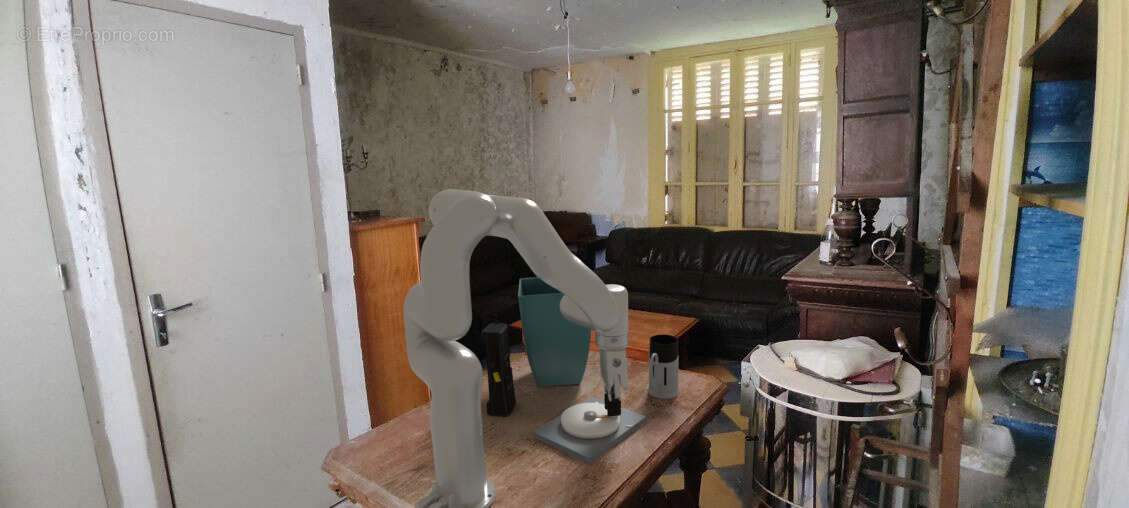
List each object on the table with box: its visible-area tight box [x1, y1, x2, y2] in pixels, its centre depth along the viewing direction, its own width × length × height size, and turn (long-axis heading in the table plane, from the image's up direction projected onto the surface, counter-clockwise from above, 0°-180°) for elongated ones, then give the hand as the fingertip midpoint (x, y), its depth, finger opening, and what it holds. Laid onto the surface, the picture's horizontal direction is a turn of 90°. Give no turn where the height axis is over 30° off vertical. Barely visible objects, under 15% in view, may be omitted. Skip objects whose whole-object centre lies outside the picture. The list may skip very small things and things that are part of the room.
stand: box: [532, 396, 647, 465], centre depth 125 cm, size 22×17×2 cm
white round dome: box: [560, 391, 620, 439], centre depth 124 cm, size 14×14×8 cm
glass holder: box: [647, 333, 681, 400], centre depth 139 cm, size 9×14×15 cm, turn 151°
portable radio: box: [480, 314, 517, 417], centre depth 133 cm, size 8×6×25 cm
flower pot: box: [517, 276, 592, 387], centre depth 152 cm, size 20×20×28 cm
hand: (612, 411), depth 124 cm, fingers closed on white round dome, 2 cm apart
